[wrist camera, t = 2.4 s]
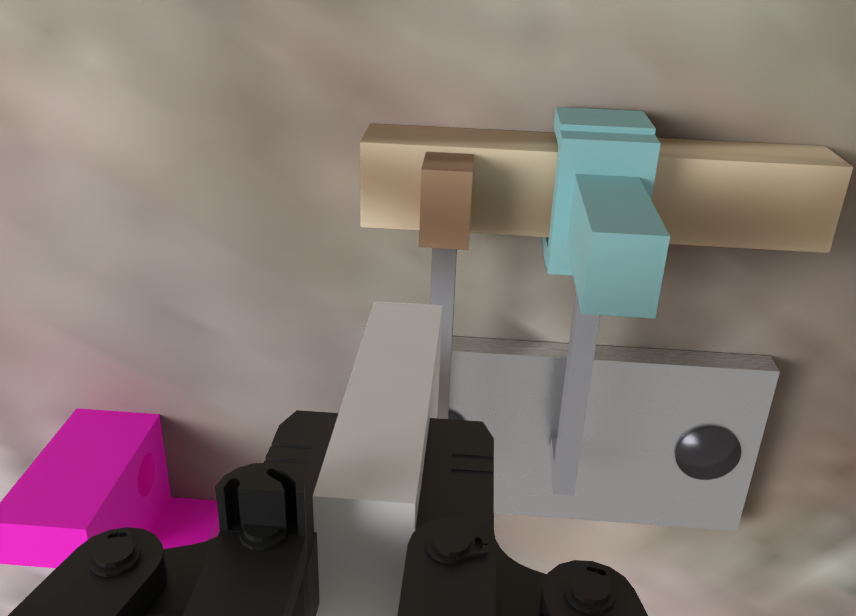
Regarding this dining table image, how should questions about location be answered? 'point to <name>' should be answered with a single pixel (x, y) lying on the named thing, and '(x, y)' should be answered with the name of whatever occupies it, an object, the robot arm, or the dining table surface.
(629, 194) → the sliding trammel head
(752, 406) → the bolt plate
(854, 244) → the dining table surface
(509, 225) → the rail
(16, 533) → the toy block
